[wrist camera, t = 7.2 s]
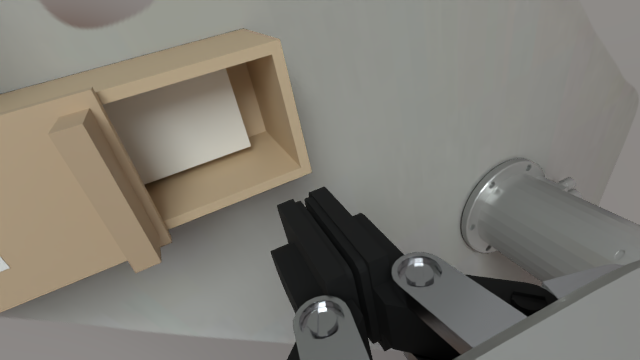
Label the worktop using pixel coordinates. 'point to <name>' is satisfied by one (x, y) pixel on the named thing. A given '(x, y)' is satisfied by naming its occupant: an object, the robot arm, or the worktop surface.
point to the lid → (69, 199)
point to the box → (197, 120)
